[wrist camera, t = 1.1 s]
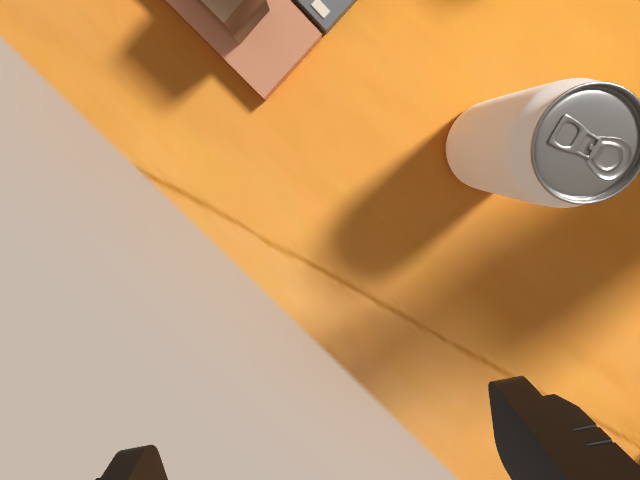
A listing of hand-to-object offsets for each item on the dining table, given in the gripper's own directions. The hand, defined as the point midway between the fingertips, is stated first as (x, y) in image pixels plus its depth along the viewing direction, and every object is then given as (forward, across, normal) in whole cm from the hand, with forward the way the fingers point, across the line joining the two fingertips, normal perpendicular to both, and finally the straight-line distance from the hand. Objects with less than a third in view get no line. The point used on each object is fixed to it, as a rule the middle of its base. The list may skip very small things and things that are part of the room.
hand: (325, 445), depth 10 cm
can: (+23, -14, -4) cm, 27 cm away
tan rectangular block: (+23, +3, -17) cm, 29 cm away
